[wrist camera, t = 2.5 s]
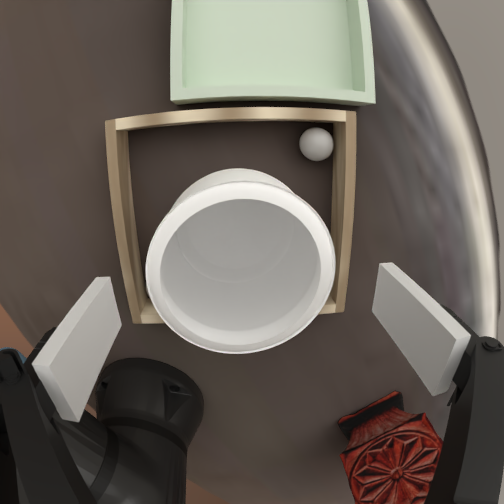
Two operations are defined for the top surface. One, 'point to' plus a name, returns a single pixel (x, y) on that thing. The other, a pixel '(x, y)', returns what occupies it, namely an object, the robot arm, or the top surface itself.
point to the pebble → (316, 144)
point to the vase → (389, 453)
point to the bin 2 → (119, 128)
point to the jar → (240, 263)
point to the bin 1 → (271, 51)
